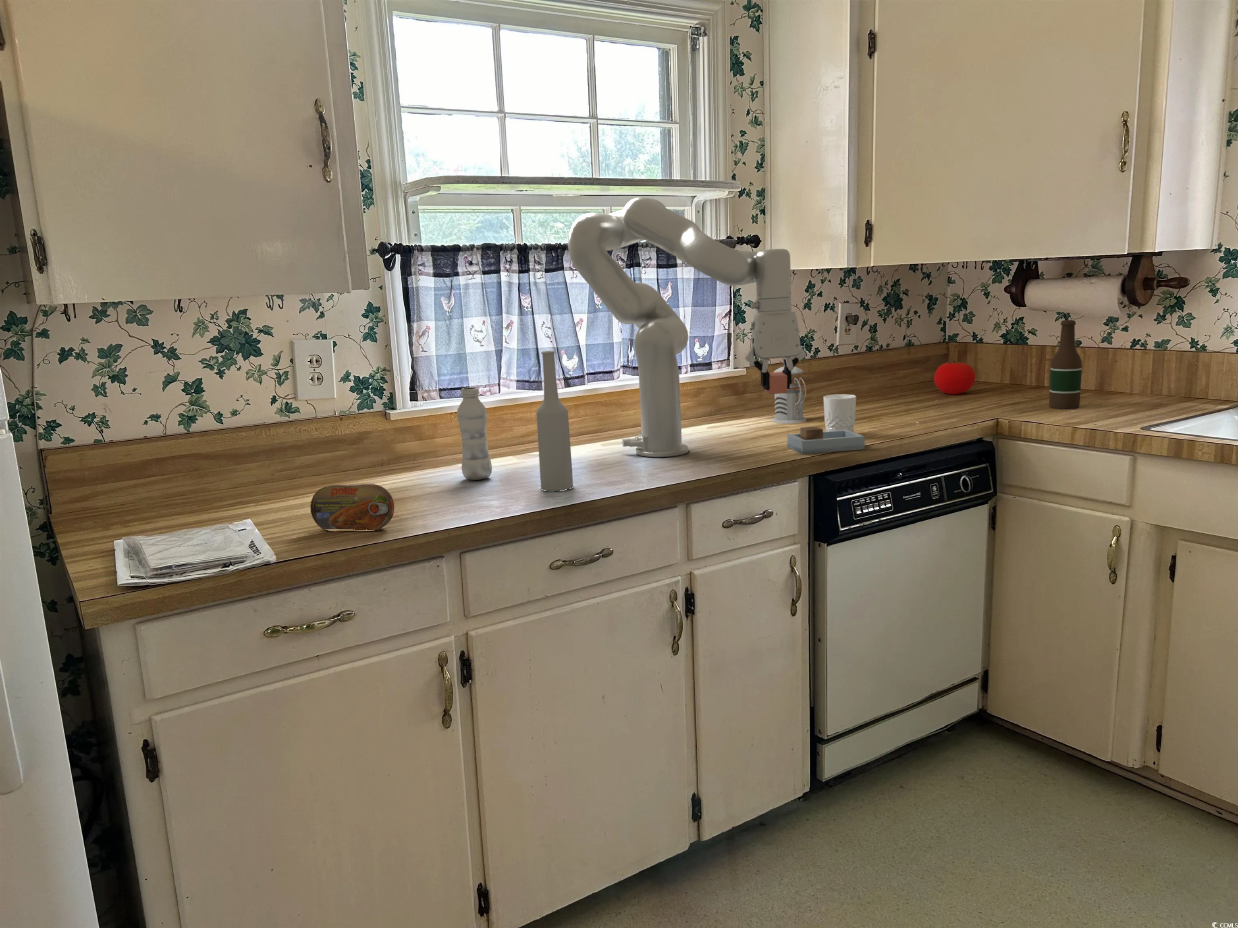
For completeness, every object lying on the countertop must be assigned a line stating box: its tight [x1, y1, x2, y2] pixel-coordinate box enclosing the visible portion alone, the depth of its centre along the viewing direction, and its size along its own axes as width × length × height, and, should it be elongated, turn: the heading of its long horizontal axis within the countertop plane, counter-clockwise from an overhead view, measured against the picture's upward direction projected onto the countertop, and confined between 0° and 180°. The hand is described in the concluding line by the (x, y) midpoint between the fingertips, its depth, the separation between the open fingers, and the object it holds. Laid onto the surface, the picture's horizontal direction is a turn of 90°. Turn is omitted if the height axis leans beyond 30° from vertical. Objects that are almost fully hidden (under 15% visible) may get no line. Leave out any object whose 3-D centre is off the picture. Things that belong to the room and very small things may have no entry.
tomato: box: [933, 360, 976, 395], centre depth 287 cm, size 11×12×10 cm
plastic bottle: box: [456, 386, 493, 481], centre depth 196 cm, size 6×7×20 cm
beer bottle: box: [1048, 319, 1083, 410], centre depth 250 cm, size 8×8×24 cm
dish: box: [786, 430, 866, 455], centre depth 213 cm, size 15×10×3 cm, turn 99°
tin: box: [309, 483, 395, 531], centre depth 161 cm, size 15×3×8 cm, turn 80°
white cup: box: [823, 393, 857, 433], centre depth 226 cm, size 8×8×10 cm
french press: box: [771, 366, 807, 425], centre depth 250 cm, size 10×12×25 cm
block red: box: [763, 371, 788, 395], centre depth 205 cm, size 4×4×4 cm
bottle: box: [536, 350, 574, 492], centre depth 183 cm, size 7×7×28 cm
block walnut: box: [799, 426, 824, 440], centre depth 212 cm, size 4×4×4 cm
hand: (776, 387), depth 204 cm, fingers closed on block red, 4 cm apart
